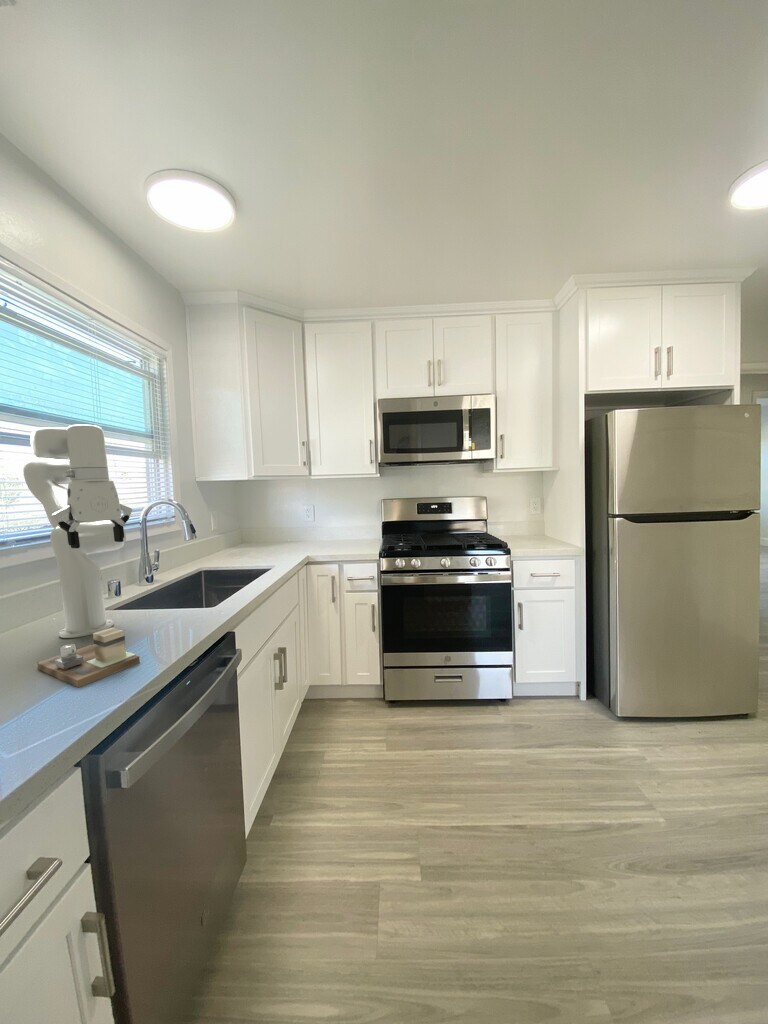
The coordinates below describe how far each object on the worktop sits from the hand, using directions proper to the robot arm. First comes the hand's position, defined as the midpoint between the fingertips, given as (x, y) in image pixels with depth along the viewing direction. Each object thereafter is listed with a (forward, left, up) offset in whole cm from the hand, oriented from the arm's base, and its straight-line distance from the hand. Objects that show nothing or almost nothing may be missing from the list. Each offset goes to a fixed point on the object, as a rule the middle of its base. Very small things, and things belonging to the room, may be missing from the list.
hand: (98, 544), depth 99 cm
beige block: (+13, -5, -25) cm, 28 cm away
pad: (+13, -5, -25) cm, 29 cm away
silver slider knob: (+8, -12, -24) cm, 28 cm away
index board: (+8, -8, -26) cm, 29 cm away
